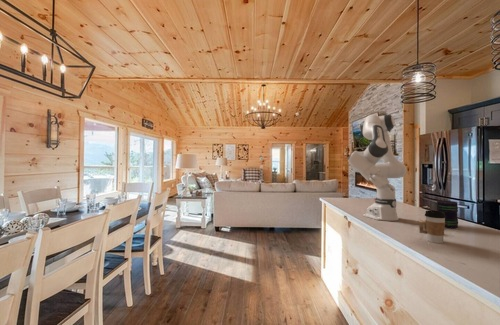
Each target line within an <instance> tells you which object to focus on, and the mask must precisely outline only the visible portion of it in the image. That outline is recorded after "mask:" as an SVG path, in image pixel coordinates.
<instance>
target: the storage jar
mask: <svg viewBox="0 0 500 325" xmlns="http://www.w3.org/2000/svg"><path fill="white" fill-rule="evenodd" d="M458 206H459V205H458V202H457V201H452V200H437V201H436V211H441V212H445V216H446V218H445V229H451V230H452V229H454V230H456V229H459V218H458V211H459V210H458V209H459V207H458Z"/></svg>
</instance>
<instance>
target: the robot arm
mask: <svg viewBox="0 0 500 325" xmlns="http://www.w3.org/2000/svg"><path fill="white" fill-rule="evenodd" d="M394 127H395V119H394V117H393V115H391V114H384V115H379V116H378V115H377V114H369V115H367V117H365V119H364V120H363V121H361V123H360V124H359V131H360V132H361V134H362V135H363V137H364V138H365V139H367V140H368V141H371V142H370V143H369V144H368V146H367V147H366V148H365V149H364V150H363V151H358V150H354V151H352V152H351V153H350V155H349V156H348V158H347V162H348V163H349V164H350V165H351V167H352V168H353V169H354V170H356V171H357V172H359V173H360V175H361V176H362V177H363V178H365V180H366V181H367V182H369V181H370V182H371V183H372V184H373V185H374V186H375V188H376V198H374V202H373V203H372V204H371V205H369V206H368V207H367V209H366V212H365V213H363V215H362V216H363V217H366V218H370V219H373V220H376V221H393V222H394V221H399V216H398V213H397V198H396V188H395V186H394V185H393V184H391V183H390V180H389V179H400V178H404V177H406V174H407V171H408V169H407V167H406V165H405V164H404V163H402V162H400V161H399V160H398V159H397V157H396V156H395V154H394V152H393V149H392V147H393V146H392V143H391V138H390V134H389V133H390V132H391V131H392V130H393V129H394ZM380 160H381V161H383V162H379V161H380Z"/></svg>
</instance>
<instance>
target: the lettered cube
mask: <svg viewBox="0 0 500 325" xmlns="http://www.w3.org/2000/svg"><path fill="white" fill-rule="evenodd" d="M418 226H419V227H418V229H419V233H420V234H426V235H428V234H427V227H426V219H419V225H418Z"/></svg>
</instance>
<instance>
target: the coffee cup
mask: <svg viewBox="0 0 500 325" xmlns="http://www.w3.org/2000/svg"><path fill="white" fill-rule="evenodd" d="M424 217H425V220H426V227H427V234H426V235H427V240H428V242H431V243H434V244H443V243H444V236H445V229H446V228H445V218H446V216H445V212H441V211H438V210H430V209H429V210H426V211H425V213H424Z"/></svg>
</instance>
